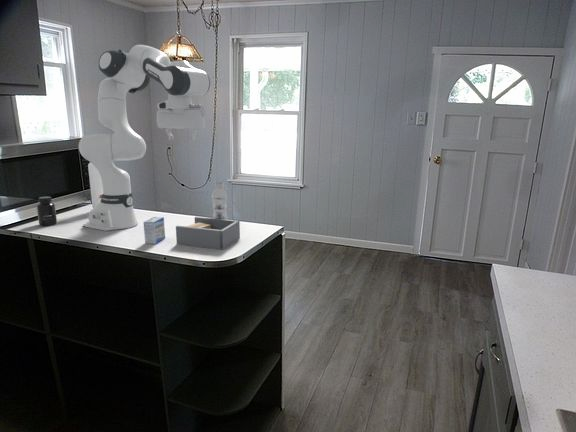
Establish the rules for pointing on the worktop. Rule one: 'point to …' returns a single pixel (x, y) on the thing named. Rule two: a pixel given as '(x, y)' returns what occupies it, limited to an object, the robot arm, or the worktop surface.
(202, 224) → the upper offcut
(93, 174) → the bottle
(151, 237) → the medicine box
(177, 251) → the worktop surface
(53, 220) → the supplement bottle
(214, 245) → the open box
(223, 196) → the plastic bottle
